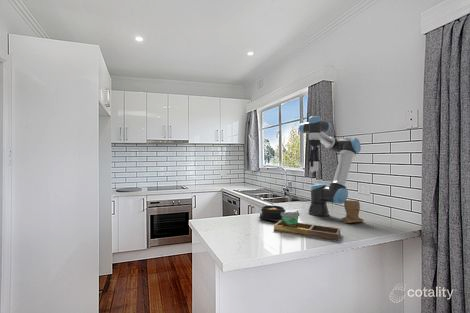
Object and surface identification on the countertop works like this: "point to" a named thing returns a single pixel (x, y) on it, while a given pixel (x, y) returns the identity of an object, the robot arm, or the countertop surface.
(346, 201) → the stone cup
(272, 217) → the casserole
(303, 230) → the walnut divided tray
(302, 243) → the countertop surface
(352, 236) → the countertop surface
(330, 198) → the robot arm
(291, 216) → the food container
